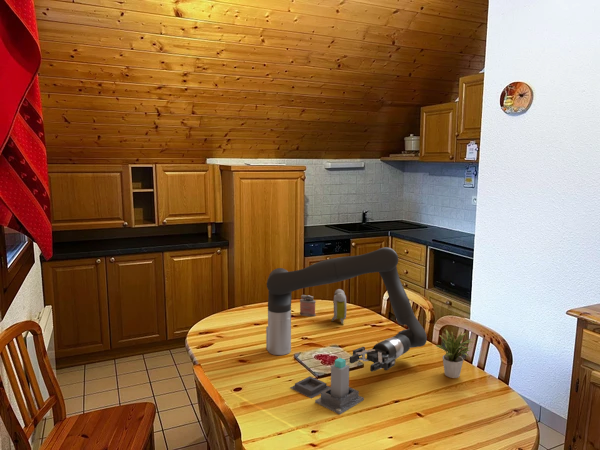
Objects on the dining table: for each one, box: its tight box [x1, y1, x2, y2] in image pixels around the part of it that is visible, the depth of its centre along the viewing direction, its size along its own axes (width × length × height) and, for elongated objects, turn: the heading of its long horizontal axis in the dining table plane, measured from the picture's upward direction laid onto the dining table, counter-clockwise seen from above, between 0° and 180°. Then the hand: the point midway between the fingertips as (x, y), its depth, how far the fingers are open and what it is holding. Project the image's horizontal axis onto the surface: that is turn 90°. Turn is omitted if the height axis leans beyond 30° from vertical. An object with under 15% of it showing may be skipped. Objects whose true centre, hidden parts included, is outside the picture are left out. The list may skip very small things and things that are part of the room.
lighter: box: [299, 294, 317, 317], centre depth 229 cm, size 8×3×10 cm, turn 71°
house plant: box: [435, 329, 475, 379], centre depth 163 cm, size 14×14×16 cm
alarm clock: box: [330, 288, 347, 326], centre depth 219 cm, size 12×7×15 cm, turn 179°
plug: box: [330, 357, 350, 399], centre depth 146 cm, size 4×4×13 cm
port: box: [314, 386, 365, 415], centre depth 146 cm, size 10×12×4 cm
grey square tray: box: [289, 375, 331, 400], centre depth 155 cm, size 10×10×2 cm
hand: (360, 364), depth 153 cm, fingers open, 8 cm apart
